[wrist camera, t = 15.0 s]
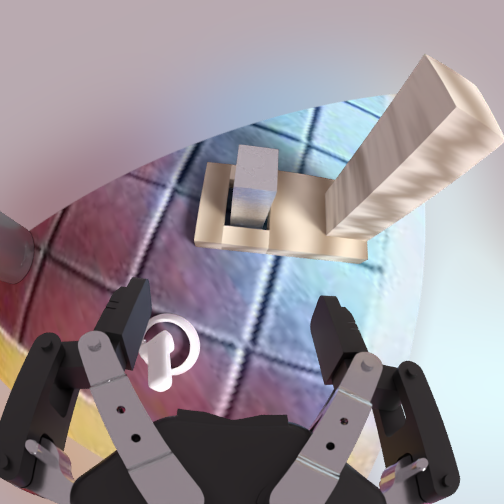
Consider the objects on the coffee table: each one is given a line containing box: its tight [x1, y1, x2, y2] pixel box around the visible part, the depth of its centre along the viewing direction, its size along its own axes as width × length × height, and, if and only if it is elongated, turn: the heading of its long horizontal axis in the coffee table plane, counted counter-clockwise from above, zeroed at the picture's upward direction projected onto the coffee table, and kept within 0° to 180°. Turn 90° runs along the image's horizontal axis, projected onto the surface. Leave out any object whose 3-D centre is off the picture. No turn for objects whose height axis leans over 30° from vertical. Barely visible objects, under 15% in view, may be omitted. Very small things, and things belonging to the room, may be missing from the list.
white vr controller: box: [139, 313, 200, 392], centre depth 27 cm, size 8×12×7 cm
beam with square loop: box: [194, 54, 504, 264], centre depth 24 cm, size 22×11×26 cm, turn 86°
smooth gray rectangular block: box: [230, 145, 278, 230], centre depth 31 cm, size 4×5×11 cm
